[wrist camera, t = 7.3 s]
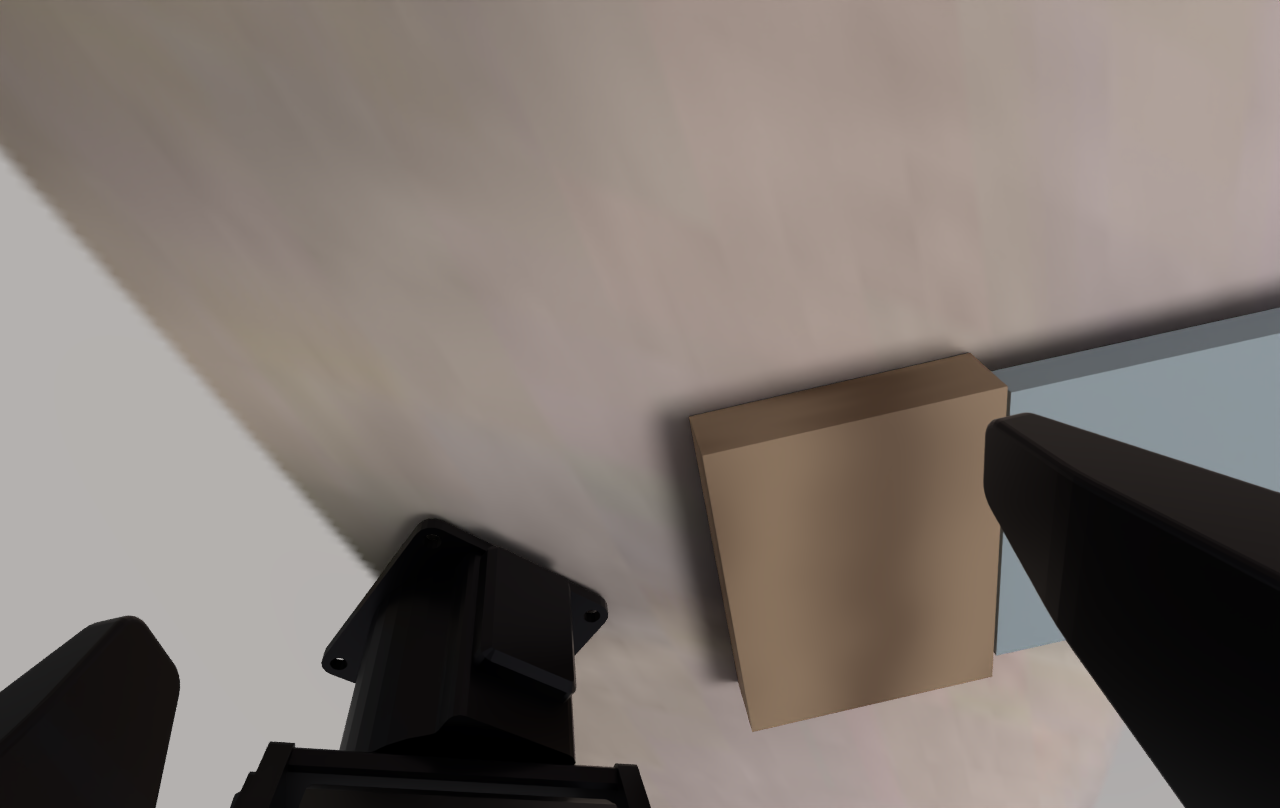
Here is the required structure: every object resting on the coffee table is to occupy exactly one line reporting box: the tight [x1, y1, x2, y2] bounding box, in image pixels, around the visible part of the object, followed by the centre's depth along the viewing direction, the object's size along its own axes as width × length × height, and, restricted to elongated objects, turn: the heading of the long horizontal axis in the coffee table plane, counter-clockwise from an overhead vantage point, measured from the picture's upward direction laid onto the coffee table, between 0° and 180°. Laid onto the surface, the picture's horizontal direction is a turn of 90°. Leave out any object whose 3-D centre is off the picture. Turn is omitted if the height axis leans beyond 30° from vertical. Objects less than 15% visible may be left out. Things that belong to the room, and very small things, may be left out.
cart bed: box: [689, 353, 1008, 732], centre depth 24 cm, size 8×11×2 cm
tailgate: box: [991, 308, 1280, 655], centre depth 24 cm, size 2×10×10 cm
